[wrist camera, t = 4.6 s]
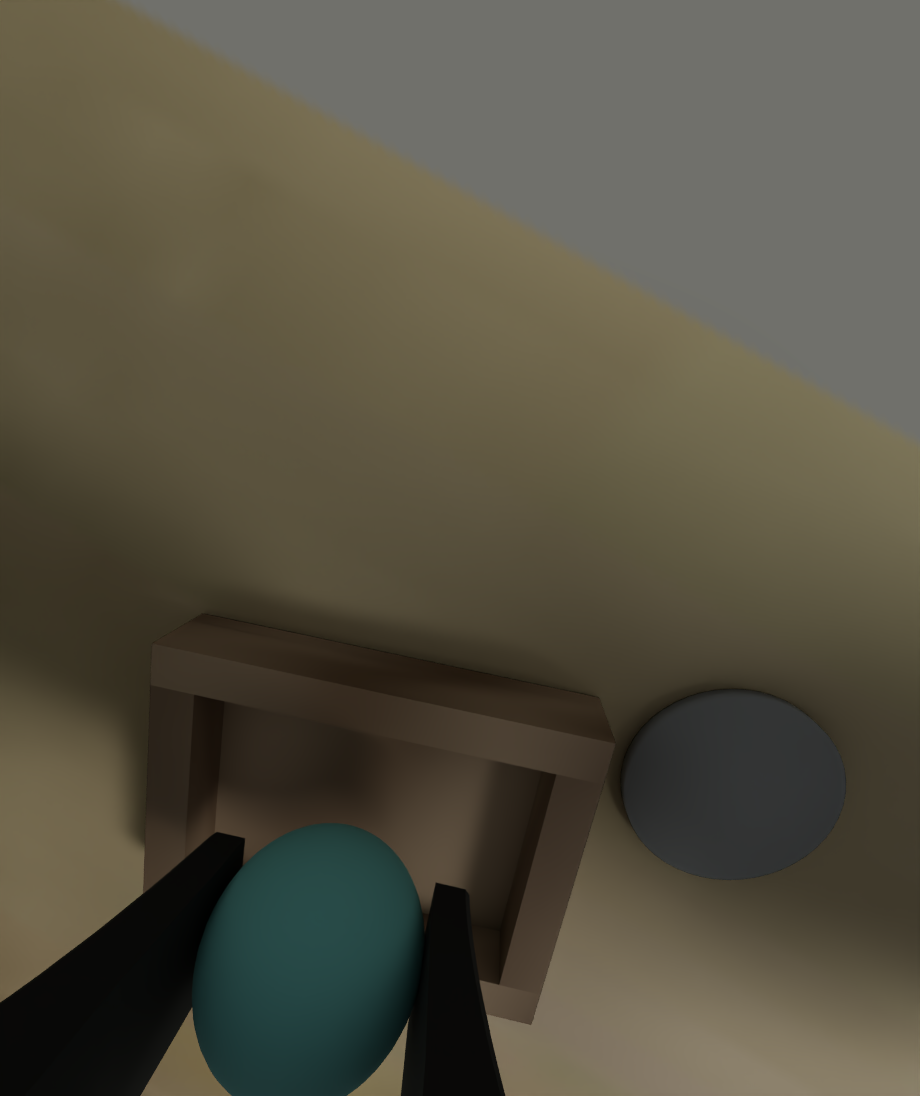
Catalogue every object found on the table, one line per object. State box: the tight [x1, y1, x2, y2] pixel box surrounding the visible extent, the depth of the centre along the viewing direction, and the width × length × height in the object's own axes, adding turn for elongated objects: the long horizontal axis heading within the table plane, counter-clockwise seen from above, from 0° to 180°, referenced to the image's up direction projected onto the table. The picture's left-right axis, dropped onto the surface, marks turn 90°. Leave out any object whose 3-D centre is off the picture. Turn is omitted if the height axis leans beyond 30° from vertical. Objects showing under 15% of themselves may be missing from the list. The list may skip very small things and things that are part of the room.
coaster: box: [621, 689, 846, 880], centre depth 12 cm, size 5×5×1 cm
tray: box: [143, 614, 616, 1025], centre depth 12 cm, size 10×8×2 cm
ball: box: [192, 823, 425, 1096], centre depth 9 cm, size 4×4×4 cm
